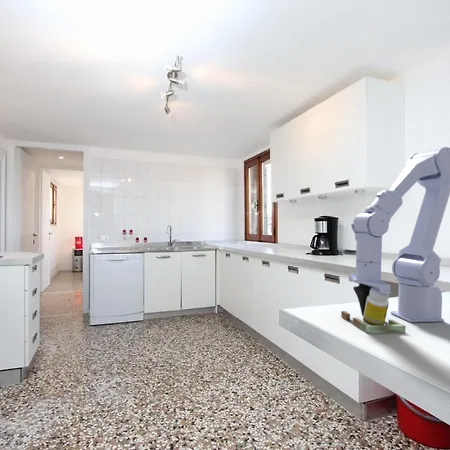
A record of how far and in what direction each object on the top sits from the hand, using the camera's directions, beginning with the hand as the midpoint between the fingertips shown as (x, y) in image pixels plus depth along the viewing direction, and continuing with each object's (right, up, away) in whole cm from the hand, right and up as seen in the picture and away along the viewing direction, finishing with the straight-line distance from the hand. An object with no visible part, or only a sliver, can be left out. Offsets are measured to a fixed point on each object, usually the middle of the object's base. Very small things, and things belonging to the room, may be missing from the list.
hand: (366, 315), depth 78 cm
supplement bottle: (0, -1, -2) cm, 3 cm away
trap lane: (0, -2, -1) cm, 2 cm away
